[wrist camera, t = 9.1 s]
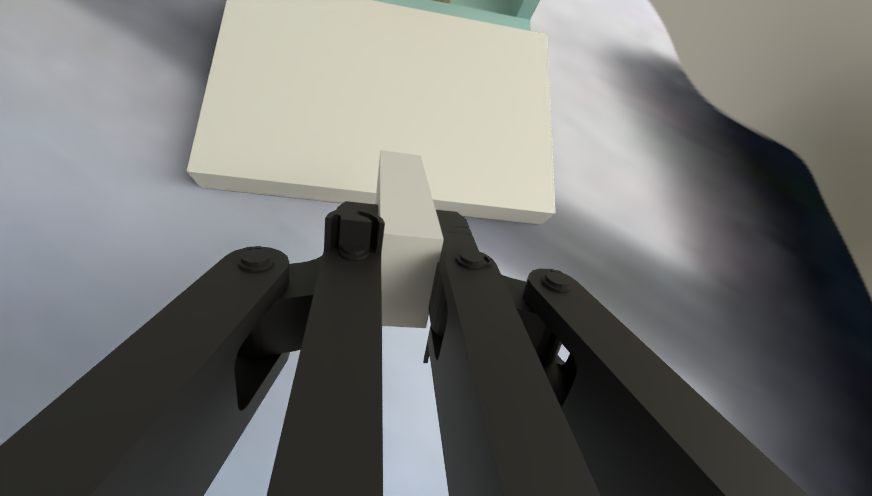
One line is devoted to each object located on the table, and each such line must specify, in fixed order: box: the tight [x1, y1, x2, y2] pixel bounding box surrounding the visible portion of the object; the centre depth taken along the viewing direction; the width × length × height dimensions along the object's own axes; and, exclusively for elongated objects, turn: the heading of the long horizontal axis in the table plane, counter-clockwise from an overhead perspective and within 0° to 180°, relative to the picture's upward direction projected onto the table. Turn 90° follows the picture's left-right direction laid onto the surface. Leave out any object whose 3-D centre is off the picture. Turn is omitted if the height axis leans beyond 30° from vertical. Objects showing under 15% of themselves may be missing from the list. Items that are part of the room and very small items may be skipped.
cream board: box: [187, 0, 555, 225], centre depth 25 cm, size 20×13×2 cm, turn 87°
